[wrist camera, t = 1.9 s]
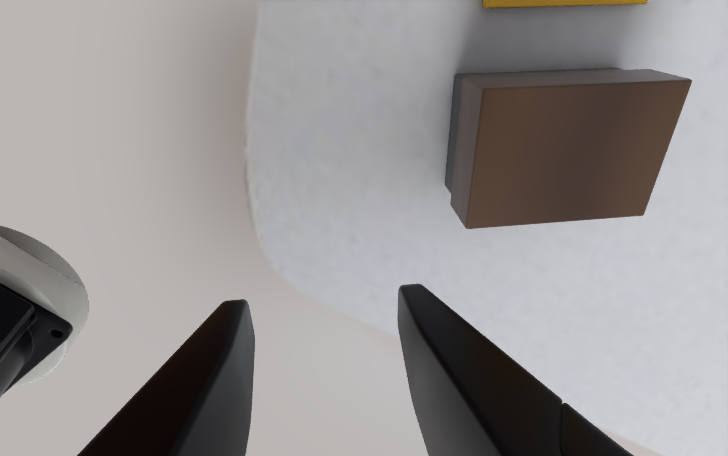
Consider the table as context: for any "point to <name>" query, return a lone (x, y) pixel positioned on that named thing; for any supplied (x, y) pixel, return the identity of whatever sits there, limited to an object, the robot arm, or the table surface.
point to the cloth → (555, 3)
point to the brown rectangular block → (558, 143)
